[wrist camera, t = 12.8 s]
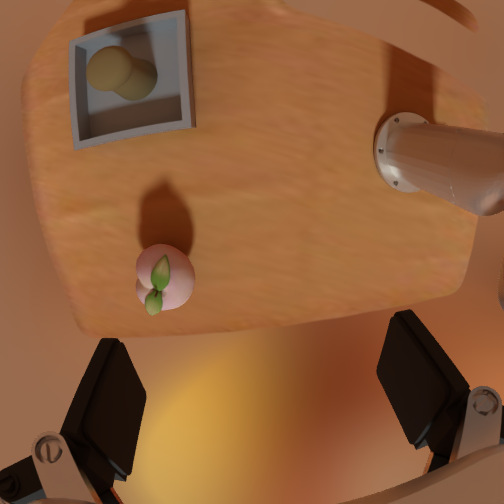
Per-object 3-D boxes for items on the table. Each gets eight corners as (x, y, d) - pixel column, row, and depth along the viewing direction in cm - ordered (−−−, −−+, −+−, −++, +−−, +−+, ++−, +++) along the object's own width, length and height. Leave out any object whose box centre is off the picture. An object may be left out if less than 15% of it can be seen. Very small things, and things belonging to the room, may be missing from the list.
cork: (107, 83, 30) (67, 72, 20) (139, 51, 29) (108, 28, 19) (133, 109, 32) (99, 105, 22) (166, 77, 31) (142, 60, 21)
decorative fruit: (194, 291, 45) (187, 332, 36) (145, 283, 44) (127, 321, 35) (202, 236, 42) (194, 269, 33) (147, 228, 40) (126, 257, 31)
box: (189, 20, 29) (184, 9, 25) (196, 127, 35) (191, 127, 31) (83, 47, 28) (69, 41, 24) (89, 147, 35) (74, 150, 31)
